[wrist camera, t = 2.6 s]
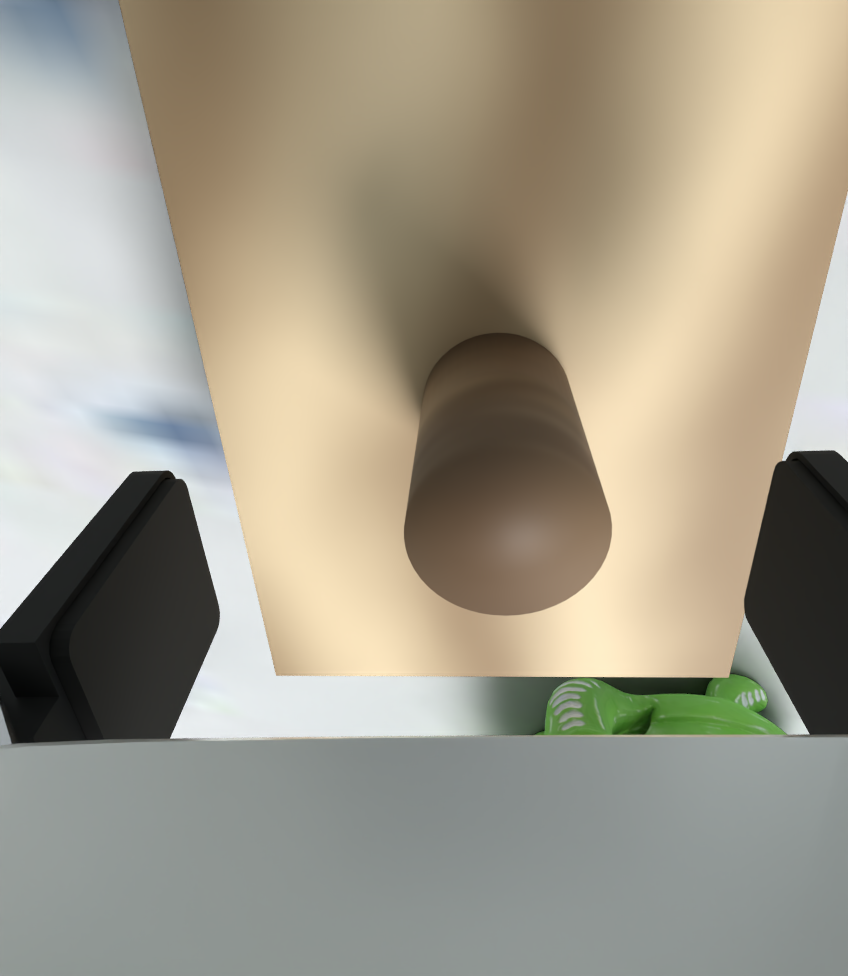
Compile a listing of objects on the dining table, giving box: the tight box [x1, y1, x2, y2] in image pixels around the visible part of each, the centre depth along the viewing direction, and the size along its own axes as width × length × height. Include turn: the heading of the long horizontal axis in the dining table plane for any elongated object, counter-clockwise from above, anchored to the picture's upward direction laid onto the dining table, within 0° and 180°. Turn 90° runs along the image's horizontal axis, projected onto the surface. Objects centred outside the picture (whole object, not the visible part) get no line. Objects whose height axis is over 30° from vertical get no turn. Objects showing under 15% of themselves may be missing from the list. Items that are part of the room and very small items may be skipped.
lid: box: [119, 0, 848, 678], centre depth 13 cm, size 13×17×6 cm
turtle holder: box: [535, 674, 787, 735], centre depth 27 cm, size 12×18×12 cm
